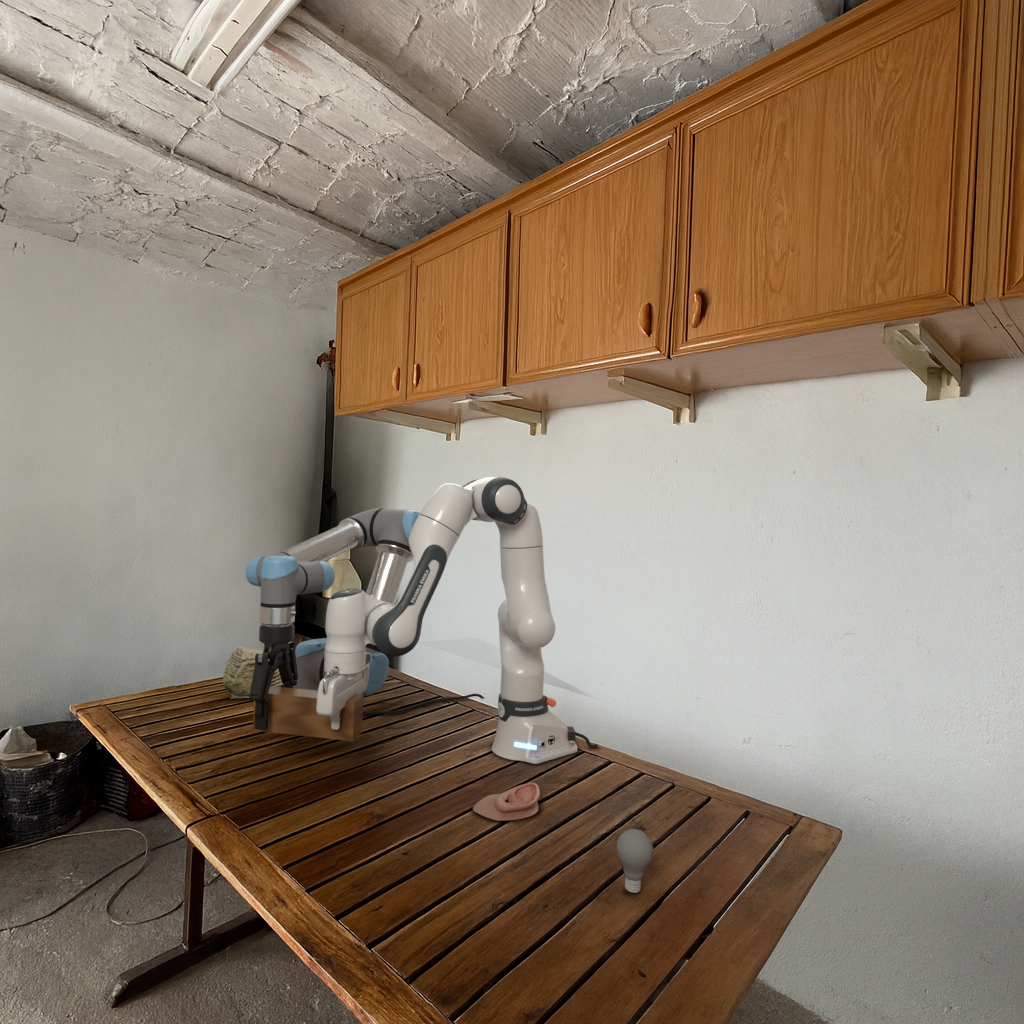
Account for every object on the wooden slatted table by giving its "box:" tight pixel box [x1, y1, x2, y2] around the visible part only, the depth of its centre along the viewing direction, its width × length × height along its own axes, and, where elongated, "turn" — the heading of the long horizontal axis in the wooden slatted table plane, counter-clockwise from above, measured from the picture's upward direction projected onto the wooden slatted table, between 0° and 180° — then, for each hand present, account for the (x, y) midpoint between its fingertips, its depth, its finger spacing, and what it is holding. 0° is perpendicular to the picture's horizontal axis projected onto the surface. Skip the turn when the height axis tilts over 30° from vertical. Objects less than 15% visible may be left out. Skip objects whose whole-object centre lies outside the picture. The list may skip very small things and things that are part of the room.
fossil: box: [222, 646, 284, 699], centre depth 198 cm, size 9×18×15 cm, turn 132°
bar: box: [252, 686, 365, 742], centre depth 143 cm, size 24×5×9 cm, turn 81°
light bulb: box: [615, 828, 654, 894], centre depth 106 cm, size 6×6×10 cm
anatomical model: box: [472, 782, 541, 822], centre depth 132 cm, size 13×4×12 cm
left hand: (273, 721), depth 145 cm, fingers open, 10 cm apart
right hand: (342, 723), depth 142 cm, fingers closed on bar, 5 cm apart
